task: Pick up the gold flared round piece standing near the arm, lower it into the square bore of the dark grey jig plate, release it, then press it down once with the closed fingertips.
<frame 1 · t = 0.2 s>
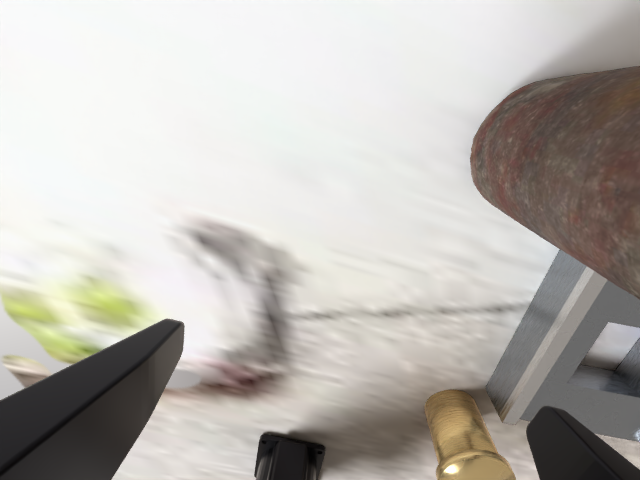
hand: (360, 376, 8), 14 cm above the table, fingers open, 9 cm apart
candle: (522, 147, 19), on the table
jig: (598, 337, 23), on the table
gold flared round piece: (449, 407, 27), on the table
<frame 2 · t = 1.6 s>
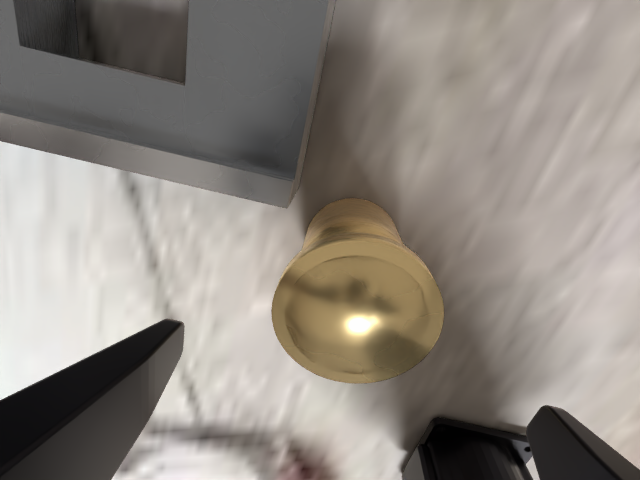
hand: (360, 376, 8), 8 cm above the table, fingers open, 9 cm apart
gold flared round piece: (351, 242, 15), on the table
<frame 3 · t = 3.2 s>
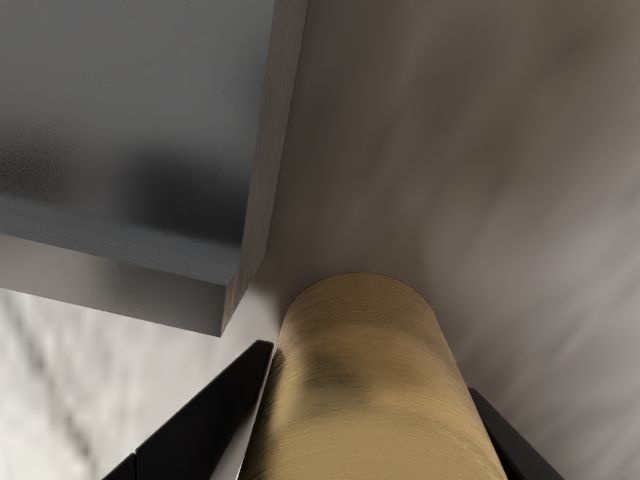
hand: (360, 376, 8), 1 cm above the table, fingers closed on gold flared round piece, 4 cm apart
gold flared round piece: (358, 341, 9), on the table, touching gripper
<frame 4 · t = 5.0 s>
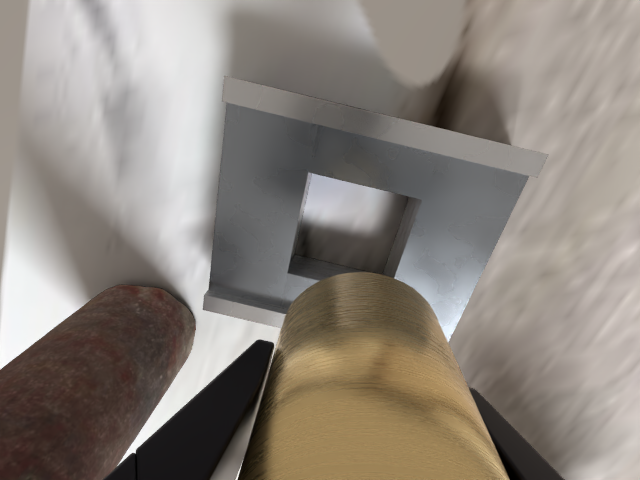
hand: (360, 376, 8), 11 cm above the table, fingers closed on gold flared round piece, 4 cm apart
candle: (150, 323, 22), on the table
jig: (350, 223, 18), on the table
gold flared round piece: (359, 341, 9), point 10 cm above the table, touching gripper
when the fingers open (3 cm above the table, at t = 7.0 s): gold flared round piece drops 2 cm, resting in jig.
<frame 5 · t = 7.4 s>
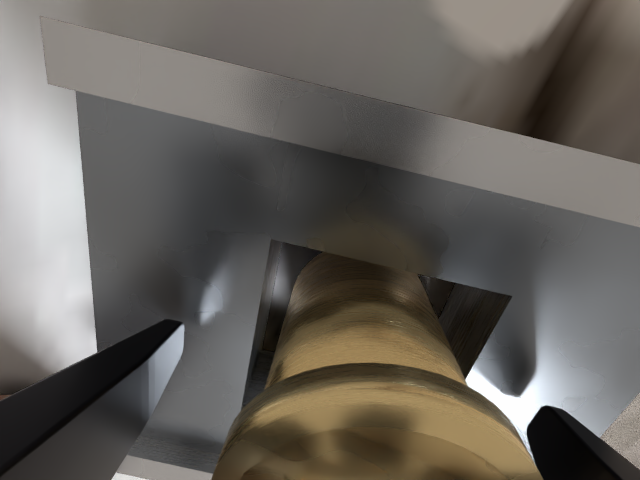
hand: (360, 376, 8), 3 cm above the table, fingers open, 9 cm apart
jig: (355, 304, 10), on the table
gold flared round piece: (356, 303, 10), resting in jig
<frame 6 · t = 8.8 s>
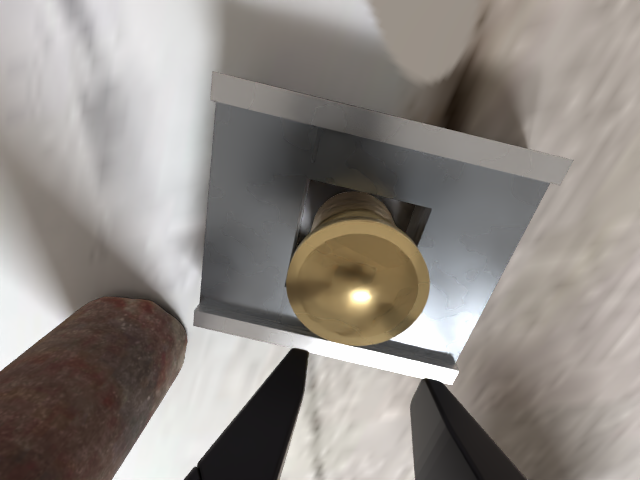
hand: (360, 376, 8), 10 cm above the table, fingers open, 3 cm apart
candle: (138, 335, 21), on the table
jig: (351, 231, 17), on the table
gold flared round piece: (352, 230, 17), resting in jig
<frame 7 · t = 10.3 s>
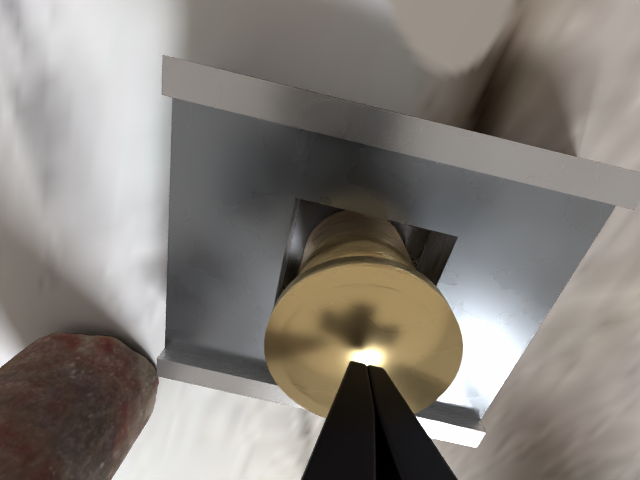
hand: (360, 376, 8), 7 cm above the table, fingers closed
candle: (103, 373, 18), on the table
jig: (353, 257, 14), on the table
gold flared round piece: (354, 257, 14), resting in jig
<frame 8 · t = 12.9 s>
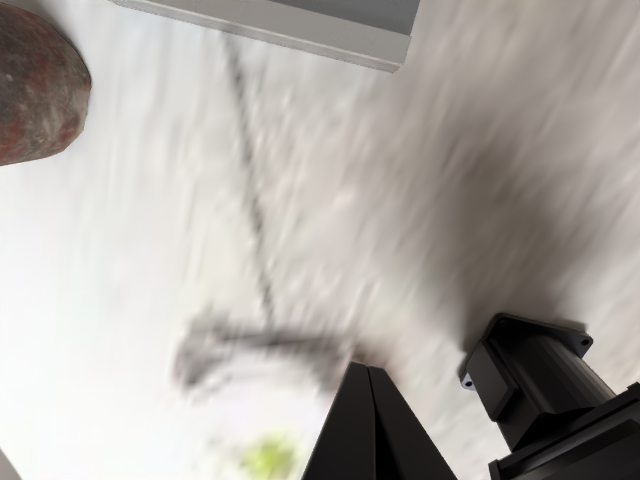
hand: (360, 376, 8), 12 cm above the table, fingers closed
candle: (36, 90, 17), on the table
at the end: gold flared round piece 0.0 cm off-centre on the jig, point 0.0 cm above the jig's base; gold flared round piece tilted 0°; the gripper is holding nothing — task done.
